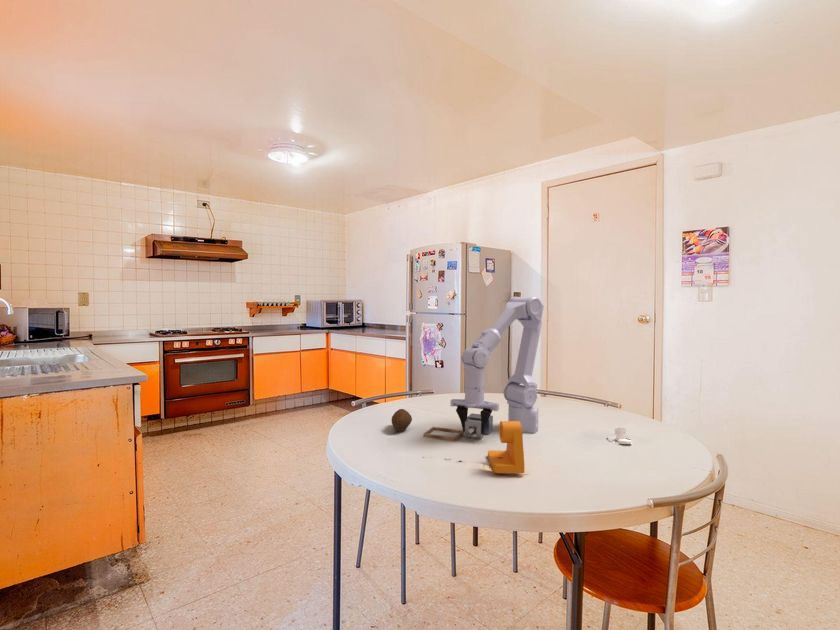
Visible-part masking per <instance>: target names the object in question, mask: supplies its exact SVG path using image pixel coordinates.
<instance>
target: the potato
mask: <svg viewBox="0 0 840 630" xmlns="http://www.w3.org/2000/svg"><path fill="white" fill-rule="evenodd" d="M412 421H413V418H412V415H411V414H410V412H409V411H408V410H406V409H403V408H399V409H398V410H397V411H395V412H394V413H393V415H392V417H391V425H392V427H393V428H394V429H395V430H396V431H398V432H401V431H405V430H406V429H408V427H409V426H410V424H411V423H412Z"/></svg>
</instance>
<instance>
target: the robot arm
mask: <svg viewBox="0 0 840 630" xmlns="http://www.w3.org/2000/svg"><path fill="white" fill-rule="evenodd" d="M543 311H544V304H543V303H542V301H541V299H540V298H539V297H537V296H513V297H511V298H510V299H509V301H507V303H505V309H504V310H503V312H502V313H501V315H500V316H499V317H498V319H497V320H496V322H495V323H494V325H493V326H492V327H491V328H486V329H484V330H482V331H481V335H480V336H479V337H478V338H477V339H476V341H474V342H473V343H472V345H471V346H470V347H467V348H466V349H464V351H463V353H462V355H461V357H460V358H461V362H462V364H463V365H464V367H463V368H464V375H465V376H464V378H465V379H464V398H463V399H462V398H461V399H460V398H451V399H450V405H449V406H450V407H452V408H453V407H456V408H455V412H456V414H457V415H458V418H459V421H460V423H461V427H462V430H463V432H464V433H465V421H466V420H467V417H468V414H469V413H468V412H469V411H468V410H469V409H478V410H481V411H480V413H479V414H481V434H483V435H485V434H484V433H485V429H486V425H487V422H488V419H489V417H490V415H491V414H492V412H493V411H494V412H498V411H499V409H500V408H499V407H500V404H499V403H497V402H491V401H485V367H486V366H487V365H488V364H489V361H490V357H491V354H492V352H493V351H494V350H495V348H496V347H497V346H498V345H499V344H500V342H501V341H502V339H501V336H502V334H503V333H504V332H506V330H507V329H508V328H509V327H510V326H511V325H512V324H513V323H514V322H515V320H517V321H518V322H519V323H520V324H521V325H522V327H523V329H522V334H521V340H520V344H519V350H518V354H517V359H516V366H515V370H514V373H513V375H511V376H509V378H508V379H507V383H506V385H505V386H504V389H503V397H504V399H505V400H506V404H508V410H507V411H508V413H507V417H508V419H507V421H520V423H521V426H522V433H527V434H529V433H530V434H537V432H538V431H539V407H536V406H534V405H535V403H536V402H537V398H538V392H537V387H538V384H537V382H536V381H535V380H534V379H533V377H532V376H533V371H534V366H535V361H536V357H537V352H538V351H537V350H538V346H539V341H540V334H541V330H542V324H543V321H542V317H543ZM491 416H492V415H491Z"/></svg>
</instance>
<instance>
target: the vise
mask: <svg viewBox="0 0 840 630" xmlns="http://www.w3.org/2000/svg"><path fill="white" fill-rule="evenodd" d="M467 419H469V420H477V421H481V413H471V412H470V414H469V415H467ZM493 427H494V415H490V417H489V419H488V422H487V425H486V429H485V433H484V434H483V435H490V434H491V433H492V432H493V431H494V430H493V429H494V428H493ZM468 433H469V434H471V435H472V434H476V427H471V428H470V429H469V430H468Z"/></svg>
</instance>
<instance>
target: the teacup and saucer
mask: <svg viewBox="0 0 840 630" xmlns="http://www.w3.org/2000/svg"><path fill="white" fill-rule="evenodd" d="M626 433H627V429H626V428H624V427H615V428H614V436H615V438H614V439H615V440H616V443H617V445H622V444H631V445H634V444H633V443H632V442H631V440H627V439H625V438H626ZM616 443H615V441H613V444H616Z"/></svg>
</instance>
